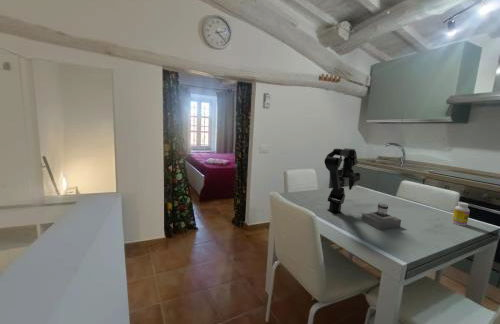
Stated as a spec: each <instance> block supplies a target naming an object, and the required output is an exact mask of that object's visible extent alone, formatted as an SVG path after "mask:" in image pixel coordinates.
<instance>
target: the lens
mask: <svg viewBox="0 0 500 324" xmlns="http://www.w3.org/2000/svg"><path fill="white" fill-rule="evenodd" d="M376 210H377V211H376V212H377V215H379V216H381V217H387V214H388V211H389V205H387V204H384V203H378V204H377V209H376Z"/></svg>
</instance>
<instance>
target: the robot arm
mask: <svg viewBox="0 0 500 324" xmlns="http://www.w3.org/2000/svg"><path fill="white" fill-rule="evenodd" d="M357 155H358V154H357V151H356V149H354V148H343V149H341V148H333V150H332V151H331V152H329V153H328V154H326V156H325V158H324V161H323V162H324V166H325V168H326V169H327V170H328V171H329V176H330V181H331V188H332V189H331V190H330V192H329V195H328V198H327V202H329V208H328V209H326V210H327V211H328V212H330V213H332V214H342V213H343V211H341V210H342V205H344V202H345V199H346V193H345V188H344V187H341V186H342V184H343V182H344V181H343V180H348V189H349V191H351V190H352V189H353V186H354V185H355V183H357V182H359V181H360V180H361V173H360V172H354V169H353V167H356V166H357V165H358V163H359V161H358V156H357ZM334 156H339V157H334ZM342 162H343V163H342ZM341 164H342V167H341V171H342V172H341V173H339V168H340V166H341ZM339 174H340V175H339Z"/></svg>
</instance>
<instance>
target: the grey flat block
mask: <svg viewBox="0 0 500 324" xmlns="http://www.w3.org/2000/svg"><path fill="white" fill-rule="evenodd" d="M361 221H362V222H363V223H365V224H367V225H369V226H371V227H373V228H375V229H377V230H386V229H392V228H393V229H394V228H399V227H401V222H402V219H400V218H397V217H396V216H393V215H392V214H388V213H387V217H381V216H379V215H377V211H371V212H369V213H361Z"/></svg>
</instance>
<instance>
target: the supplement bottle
mask: <svg viewBox="0 0 500 324" xmlns="http://www.w3.org/2000/svg"><path fill="white" fill-rule="evenodd" d="M469 205H470V204H469V203H466V202H461V201H458V202H457V205H456V206H454V210H453V215H452V220H451V222H452V223H453V224H455V225H458V226H463V227H464V226H465V227H466V226H467V225H468V221H469V217H470V212H471V210H470V209H469V208H468V207H469Z"/></svg>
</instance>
